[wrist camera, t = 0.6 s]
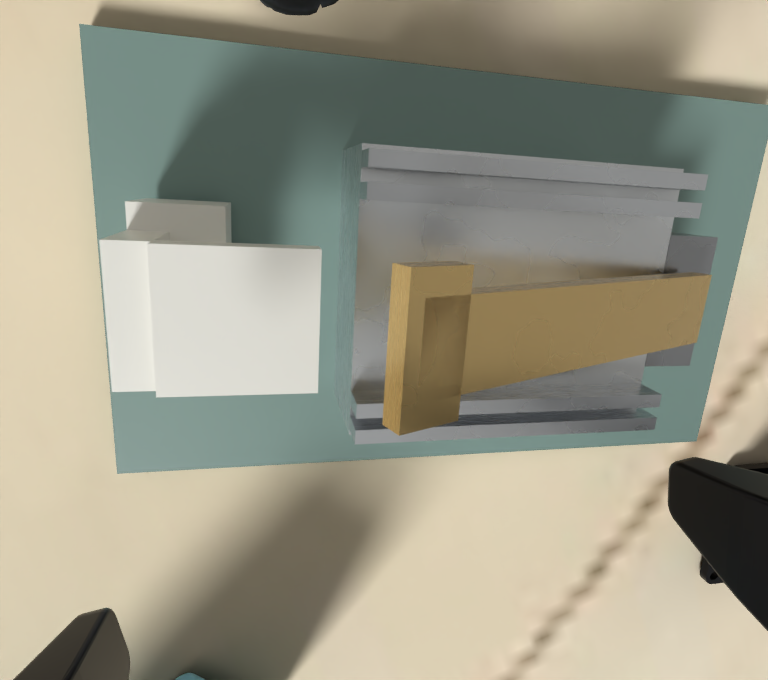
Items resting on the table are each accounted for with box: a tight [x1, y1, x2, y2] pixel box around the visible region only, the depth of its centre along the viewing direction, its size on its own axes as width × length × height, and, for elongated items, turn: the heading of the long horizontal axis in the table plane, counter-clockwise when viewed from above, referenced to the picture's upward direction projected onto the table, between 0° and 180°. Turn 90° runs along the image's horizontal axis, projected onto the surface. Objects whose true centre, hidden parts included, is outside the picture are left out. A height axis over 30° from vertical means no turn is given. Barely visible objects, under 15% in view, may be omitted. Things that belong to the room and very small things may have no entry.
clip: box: [99, 198, 322, 398], centre depth 15 cm, size 5×5×6 cm
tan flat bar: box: [382, 261, 712, 436], centre depth 14 cm, size 12×3×1 cm, turn 86°
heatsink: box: [334, 143, 718, 445], centre depth 18 cm, size 12×8×4 cm
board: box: [79, 24, 768, 474], centre depth 20 cm, size 24×14×1 cm, turn 86°
